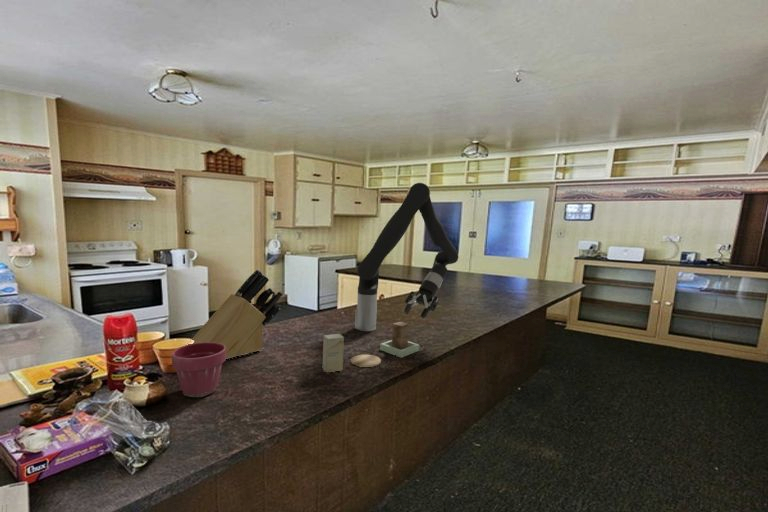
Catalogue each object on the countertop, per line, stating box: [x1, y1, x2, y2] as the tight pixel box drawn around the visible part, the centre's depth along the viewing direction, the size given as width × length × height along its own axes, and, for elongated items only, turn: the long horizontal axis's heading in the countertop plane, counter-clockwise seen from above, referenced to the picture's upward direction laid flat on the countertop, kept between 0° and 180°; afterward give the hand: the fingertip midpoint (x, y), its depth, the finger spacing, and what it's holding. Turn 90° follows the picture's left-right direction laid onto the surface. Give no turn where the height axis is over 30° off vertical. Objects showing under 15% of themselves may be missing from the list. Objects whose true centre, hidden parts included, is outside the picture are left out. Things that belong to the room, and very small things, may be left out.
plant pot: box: [171, 342, 227, 394], centre depth 109 cm, size 14×14×13 cm
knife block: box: [191, 268, 284, 358], centre depth 138 cm, size 11×35×31 cm, turn 137°
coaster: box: [350, 354, 382, 368], centre depth 136 cm, size 11×11×1 cm
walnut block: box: [391, 321, 410, 350], centre depth 148 cm, size 4×4×11 cm
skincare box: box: [321, 333, 345, 373], centre depth 127 cm, size 6×4×12 cm
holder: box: [379, 339, 420, 359], centre depth 149 cm, size 11×11×2 cm
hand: (413, 314), depth 154 cm, fingers open, 8 cm apart
